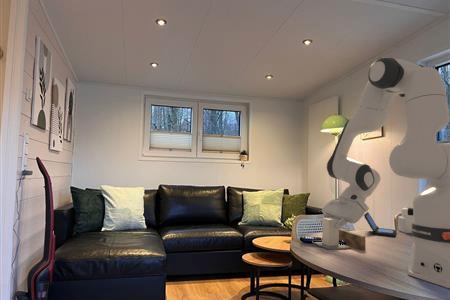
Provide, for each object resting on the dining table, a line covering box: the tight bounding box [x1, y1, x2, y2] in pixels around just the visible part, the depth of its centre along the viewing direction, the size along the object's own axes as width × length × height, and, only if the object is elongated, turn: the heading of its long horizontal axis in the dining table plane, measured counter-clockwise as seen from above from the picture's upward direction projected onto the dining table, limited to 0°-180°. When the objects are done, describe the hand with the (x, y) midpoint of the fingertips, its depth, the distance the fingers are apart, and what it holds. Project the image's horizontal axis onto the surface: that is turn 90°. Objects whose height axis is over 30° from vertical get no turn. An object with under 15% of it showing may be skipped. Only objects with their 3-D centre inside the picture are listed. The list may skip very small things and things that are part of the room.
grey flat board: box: [311, 240, 352, 251], centre depth 125 cm, size 12×10×1 cm
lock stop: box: [321, 217, 340, 246], centre depth 125 cm, size 4×4×10 cm
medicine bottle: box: [397, 207, 413, 234], centre depth 158 cm, size 7×7×12 cm
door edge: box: [339, 228, 366, 251], centre depth 129 cm, size 20×2×5 cm, turn 14°
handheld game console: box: [363, 211, 397, 238], centre depth 154 cm, size 16×13×9 cm
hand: (329, 225), depth 125 cm, fingers open, 8 cm apart
